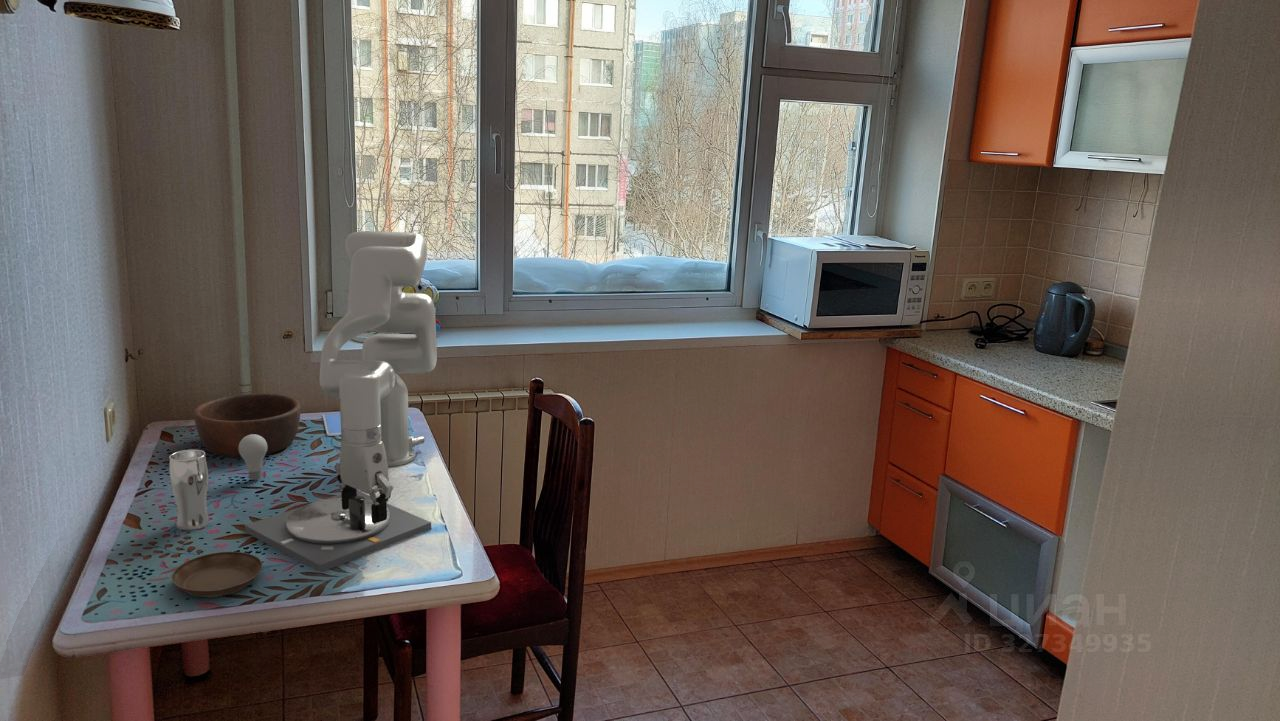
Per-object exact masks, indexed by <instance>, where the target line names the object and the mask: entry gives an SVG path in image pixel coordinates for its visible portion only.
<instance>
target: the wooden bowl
mask: <svg viewBox="0 0 1280 721" xmlns="http://www.w3.org/2000/svg"><path fill="white" fill-rule="evenodd" d="M301 412H302V406H301V402H300V401H299V400H297V399H296V398H294V397H291V396H289V395H284V394H278V393H277V394H276V393H245V394H244V393H243V394H233V395H229V396H228V395H227V396H223V397H219V398H215V399H211V400H209V401H206V402H204V403H201V404H200V405H198V406H196V408H194V410H193V419H194V424H195V428H196V432H197V434H198V437H199V439H200V441H201V443H202V444H203V446H204V447H205V448H206V449H207V450H208V452H210V453H212V454H214V455H217V456H220V457H228V458H242V456H241V455H240V453H239V449H238V447H239V443H240V441H241V440H242V439H243V438H244V437H246V436H248V435H251V434H256V435H259V436H261V437H263V438H264V439H265V440H266V442H267V447H268V448H267V452H266V454H265V456H266V455H270V454H274V453H277V452H280V451H282V450H284V449H286V448H287V447H289V446H290V445H291V444H292V442H294V440H295V438H296V435H297V434H298V431H299V426H300V423H301V422H300V420H301Z"/></svg>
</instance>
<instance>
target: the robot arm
mask: <svg viewBox="0 0 1280 721" xmlns="http://www.w3.org/2000/svg"><path fill="white" fill-rule="evenodd" d="M345 250H346V253H347V256H348V258H349V260H350V272H349V273H350V274H349V288H348V298H347V299H348V300H347V301H348V304H347V312H346V314H345V315H344V316H343V317H342V318H341V319H339V320H338V322H337V323H336V324H335V325H334V326H332V328H331V329H330V330H329V333H328V334H327V336H326V338H325V340H324V341H323V345H322V348H321V349H322V350H321V356H320V366H319V367H320V368H319V385H320V389H321V392H322V393H323V395H324V396H327V397H329V398H331V399H339V413H340V419H341V436H340V437H341V441H340V448H339V450H340V451H339V462H338V463H337V464H334V470H335V472H336V475H337V476H336V480H337V481H338V483H339V490H340V494H341V497H342V509H344V510H346V509H349V498H351V497H355V496H357V491H360V492H362V493H364V494H367V495H369V496H370V497H371V499H372V501H373V503H374V504H372V505H371V513H372V523H374V524H376V523H379V522H382V521H384V520H386V519H387V503H388V502H389V499H390V498H391V497H392V495H391V494H392V492H393V489H394V487H393V485H392V483H391V482H390V481H389V480H390V479H389V467H395V466H396V467H397V466H400V465H401V466H402V465H405V464H409V463H411V462H412V461H413V460H414V459H416V456H417V455H416V451H415V449H413V448H415V446H417V445H418V446H419V445H421V444H425V438H424V436H422V435H420V436H417V437H414V436H412V435H411V436H410V433H409V432H410V428H409V392H408V388H407V385H406V383H405V382H404V381H403V379H402V378H401V377H400V376H399V375H398V374H425V373H426V374H427V373H430V372H432V371H433V370H434V369H435V368H436V365H437V361H438V360H437V359H438V349H437V325H436V324H437V323H436V309H435V308H436V307H435V304H434V301H433V299H432V298H431V296H429V295H428V294H426V293H422V292H403V288H402V287H416V286H418V285H419V284H420V282H421V280H422V278H423V274H424V271H425V270H424V269H425V265H426V262H427V256H428V248H427V243H426V240H425V238H424V237H423V235H422V234H420V233H417V232H407V231H406V232H405V231H403V232H402V231H401V232H400V231H399V232H398V231H379V230H378V231H377V230H375V231H371V230H370V231H369V230H367V231H366V230H363V231H361V230H360V231H354V232H352V233H350V234H348V235H347V237H346V238H345ZM369 331H374V332H378V334H373V335H369V337H368V336H367V338H366V339H365V340H364V341H363V343H362V348H361V353H362V359H363V360H348V359H347V360H345V359H344V360H342V359H341V360H338V354H339V352H340V350H341V348H342V347H343V346H344V345H345V344H346V343H347V342H349V341H351V340H352V339H353V338H355V337H357V336H360V335H362V334H365V333H367V332H369ZM376 493H378V494H379V495H378V496H377V495H376Z"/></svg>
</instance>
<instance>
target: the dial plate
mask: <svg viewBox="0 0 1280 721" xmlns="http://www.w3.org/2000/svg"><path fill="white" fill-rule="evenodd" d="M357 496H361V497H364V498H365V499H369V500H372V499H371V497H370V495H369V494H367V493H364V492H362V491H360V490H357ZM335 498H342V497H341V493H339V494H337V495H334V496H331V497H328V498H323V499H322V500H328V499H335ZM322 500H320V501H322ZM303 506H304V505H302V506H299V507H296V508H293V509H290V510H287V511H284V512H281V513H278V514H275V515H272V516H269V517H266V518H262V519H259V520H256V521H253V522H249V523H248V524H247V523H246V524H244V532H245V533H246V534H248V535H250V536H252V537H254V538H255V539H258V540H260V541H261V542H263V543H265V544H267V545H269V546H270V547H272V548H274V549H276V550H278V551H280V552H281V553H283V554H285V555H287V556H289V557H291V558H292V557H293V558H292V559H294V558H295V560H296V561H298V562H300V563H302V564H303V565H305V564H306V566H308V567H309V568H310V569H313V570H315V571H316V572H318V571H319V573H322V572H323V573H324V572H325V571H327V570H330V569H332V568H336V567H339V566H340V565H343V564H345V563H346V564H347V563H348V562H351V561H353V560H355V559H358V558H361V557H364V556H366V555H368V554H371V553H374V552H376V551H379V550H382V549H384V548H387V547H389V546H391V545H395V544H397V543H399V542H403V541H405V540H406V539H410V538H413V537H415V536H417V535H420V534H422V533H424V532H427V531H431V530H432V521H429V520H427V519H424V518H422V517H420V516H418V515H415V514H413V513H410V512H408V511H406V510H404V509H401V508H398V507H396V506H394V505H392V504H389V503H388V502H387V508H388V510H389V512H390V521H389V523H388V525H387V526H386V527H385V528H384V529H383V530H381V531H380V532H378V533H376V534H374V535H372V536H369V537H367V538H364V539H360V540H356V541H351V542H345V543H335V544H319V543H310V542H305V541H301V540H298V539H296V538H294V537H292V536H291V535H290V534H289V533H288V531H287V526H286V521H287V518H288V516H289V515H290V514H291V513H292V512H294V511H295V510H297V509H299V508H301V507H303Z"/></svg>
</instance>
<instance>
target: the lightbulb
mask: <svg viewBox="0 0 1280 721" xmlns="http://www.w3.org/2000/svg"><path fill="white" fill-rule="evenodd" d="M267 448H268V447H267V442H266V440H265V439H264V438H263V437H261V436H259V435H256V434H251V435H248V436H246V437H244V438H243V439H242V440H241V441H240V443H239V447H238V449H239V453H240V455H241V456H242V457H241V459H242V460H244V462H245V466H246V469H247V471H248V478H249V480H252V481H255V482H256V481H258V480H259V479H260V478H261V477H262V471H261V470H262V467H263V461H264V458H265V456H266V455H267V454H266V452H267ZM265 454H266V455H265Z"/></svg>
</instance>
